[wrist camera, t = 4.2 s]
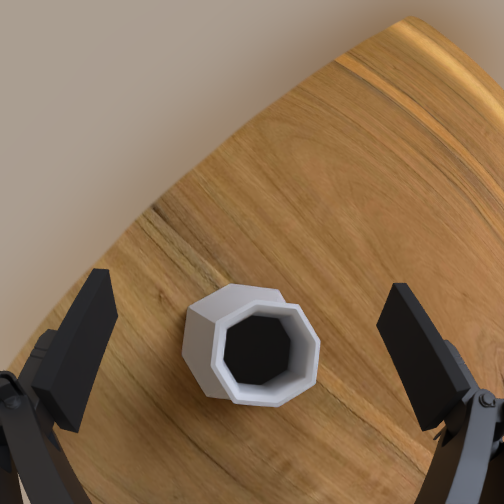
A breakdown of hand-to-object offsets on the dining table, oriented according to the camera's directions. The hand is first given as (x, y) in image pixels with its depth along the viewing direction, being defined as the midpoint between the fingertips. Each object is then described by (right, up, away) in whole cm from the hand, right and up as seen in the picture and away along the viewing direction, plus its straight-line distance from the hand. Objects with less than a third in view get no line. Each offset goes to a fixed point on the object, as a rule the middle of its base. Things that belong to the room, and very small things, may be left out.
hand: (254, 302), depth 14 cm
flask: (-1, -3, +4) cm, 5 cm away
